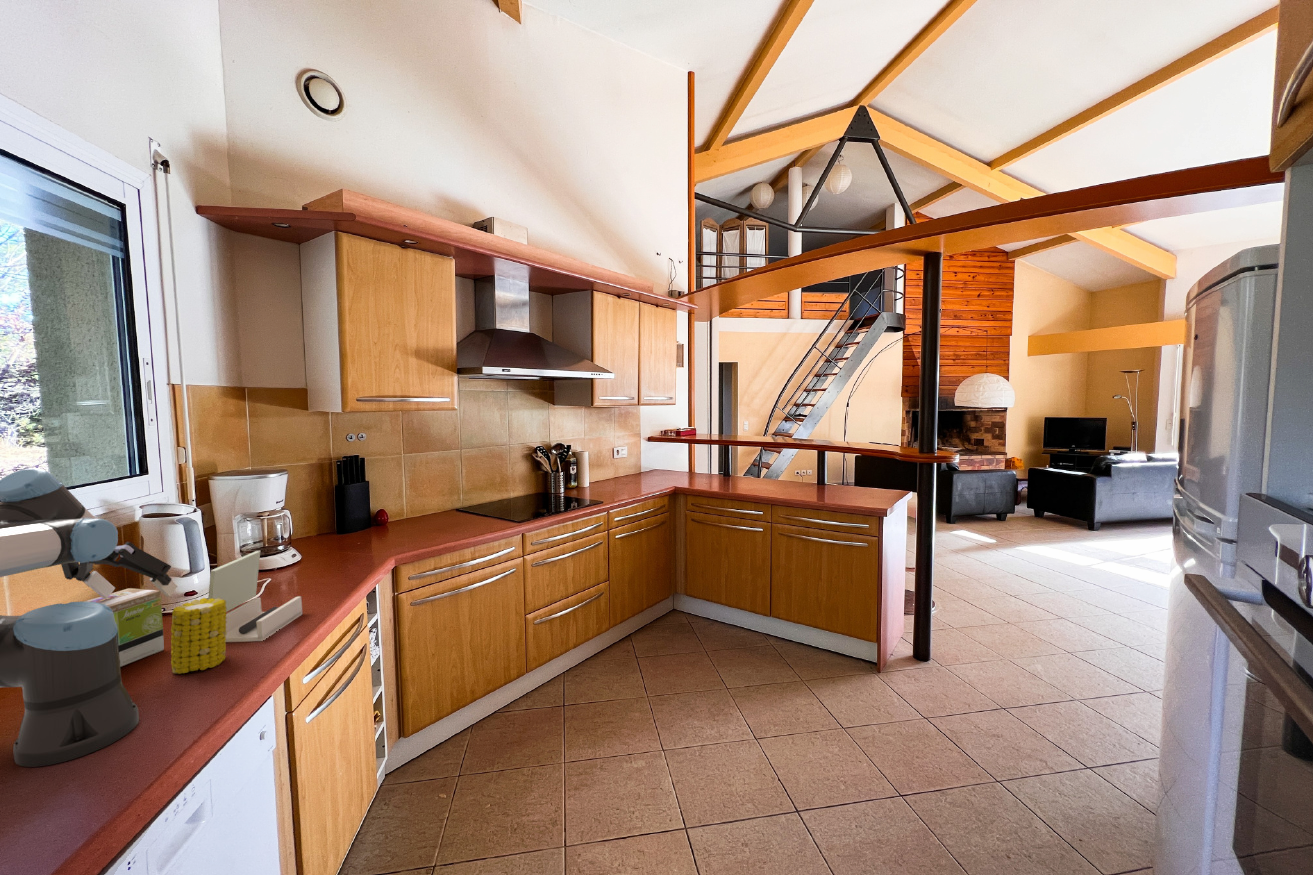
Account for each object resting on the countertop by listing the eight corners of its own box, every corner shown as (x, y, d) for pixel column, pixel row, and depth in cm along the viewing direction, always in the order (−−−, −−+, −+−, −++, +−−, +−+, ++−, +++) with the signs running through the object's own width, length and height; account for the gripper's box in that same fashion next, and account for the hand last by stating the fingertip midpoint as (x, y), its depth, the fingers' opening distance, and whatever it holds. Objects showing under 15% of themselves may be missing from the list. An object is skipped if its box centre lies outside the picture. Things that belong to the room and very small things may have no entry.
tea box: (90, 682, 115) (83, 613, 114) (53, 677, 117) (46, 610, 116) (166, 649, 130) (161, 588, 129) (133, 646, 132) (127, 586, 131)
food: (162, 681, 118) (211, 661, 128) (201, 676, 115) (248, 655, 125) (148, 612, 119) (198, 597, 128) (186, 605, 115) (234, 590, 125)
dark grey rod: (247, 633, 135) (246, 626, 135) (239, 634, 135) (238, 626, 135) (281, 612, 148) (280, 605, 148) (273, 612, 148) (272, 605, 148)
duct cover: (215, 571, 131) (210, 570, 131) (210, 620, 132) (206, 620, 132) (260, 551, 147) (256, 550, 147) (255, 595, 148) (252, 595, 148)
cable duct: (262, 640, 133) (261, 621, 133) (212, 642, 133) (210, 622, 133) (302, 614, 149) (301, 596, 149) (257, 615, 149) (255, 597, 148)
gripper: (153, 516, 113) (207, 576, 127) (26, 519, 112) (95, 579, 126) (128, 546, 107) (188, 605, 121) (-6, 549, 106) (70, 608, 120)
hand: (141, 592), depth 123 cm, fingers open, 13 cm apart
